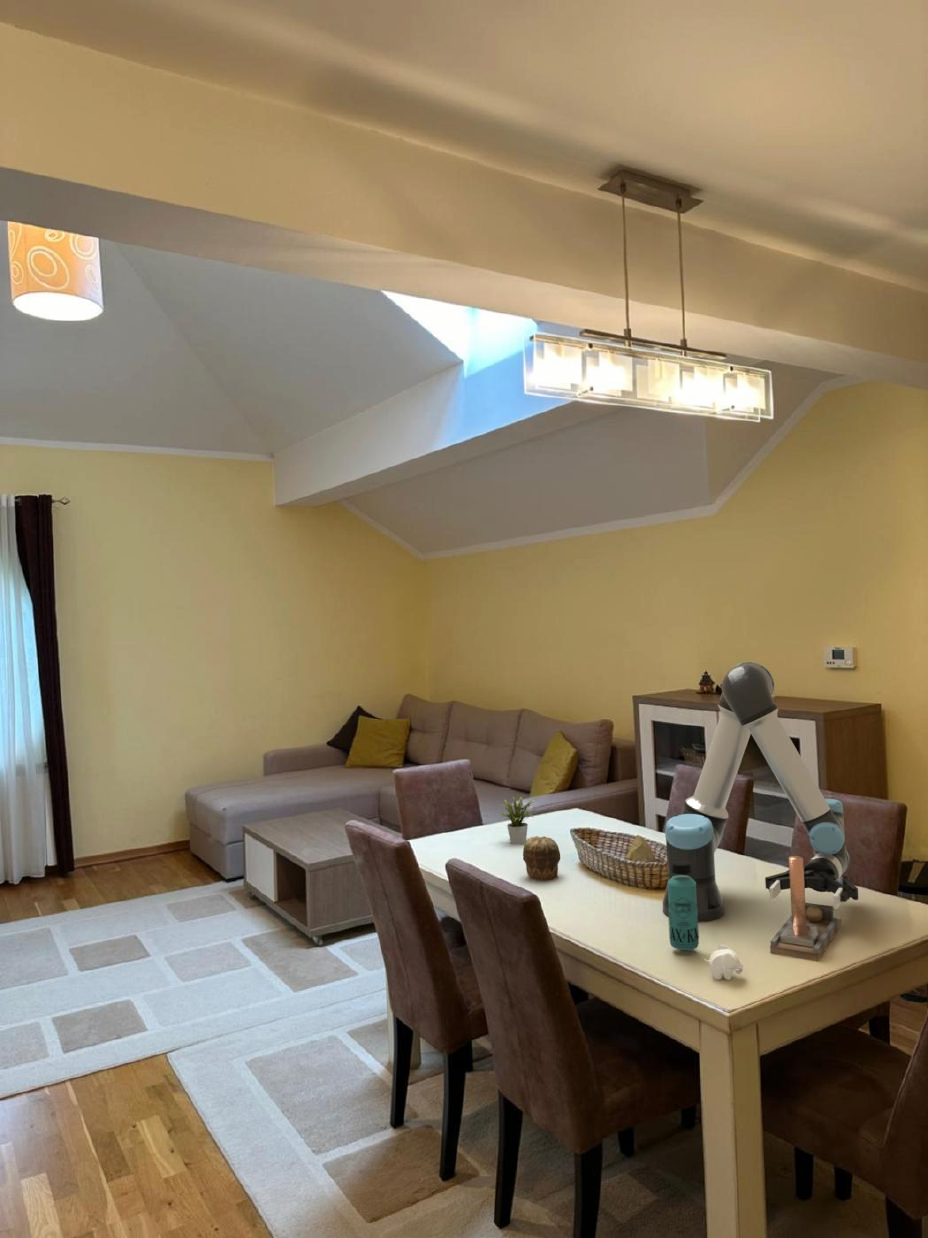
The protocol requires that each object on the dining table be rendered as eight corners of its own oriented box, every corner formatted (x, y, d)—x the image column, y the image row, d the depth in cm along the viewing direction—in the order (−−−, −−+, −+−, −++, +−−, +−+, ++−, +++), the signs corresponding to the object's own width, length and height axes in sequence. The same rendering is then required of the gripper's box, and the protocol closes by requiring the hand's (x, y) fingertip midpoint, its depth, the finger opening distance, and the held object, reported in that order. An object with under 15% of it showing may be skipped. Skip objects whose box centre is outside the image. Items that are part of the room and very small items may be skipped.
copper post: (813, 947, 186) (809, 863, 186) (780, 942, 190) (776, 859, 190) (819, 938, 191) (815, 856, 191) (787, 933, 195) (783, 852, 195)
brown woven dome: (519, 881, 250) (517, 840, 250) (530, 871, 260) (528, 831, 261) (555, 884, 246) (553, 842, 246) (565, 873, 256) (563, 833, 256)
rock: (667, 865, 251) (655, 852, 261) (650, 845, 249) (639, 832, 259) (639, 889, 250) (628, 875, 260) (622, 869, 249) (611, 855, 259)
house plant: (542, 848, 286) (539, 799, 287) (500, 850, 287) (498, 801, 287) (538, 837, 301) (536, 791, 301) (499, 839, 301) (497, 793, 301)
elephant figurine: (747, 985, 173) (746, 955, 173) (706, 984, 174) (705, 954, 174) (742, 971, 180) (741, 943, 180) (703, 970, 181) (701, 942, 181)
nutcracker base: (818, 961, 183) (817, 937, 183) (770, 953, 188) (769, 929, 189) (841, 925, 203) (840, 904, 203) (797, 919, 208) (796, 898, 208)
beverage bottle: (666, 947, 195) (661, 859, 195) (694, 945, 195) (689, 857, 195) (675, 958, 188) (670, 867, 188) (704, 956, 189) (700, 865, 189)
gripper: (879, 894, 201) (864, 923, 184) (770, 881, 215) (747, 907, 198) (877, 863, 202) (862, 888, 184) (769, 851, 215) (745, 874, 198)
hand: (802, 898), depth 191 cm, fingers open, 13 cm apart
